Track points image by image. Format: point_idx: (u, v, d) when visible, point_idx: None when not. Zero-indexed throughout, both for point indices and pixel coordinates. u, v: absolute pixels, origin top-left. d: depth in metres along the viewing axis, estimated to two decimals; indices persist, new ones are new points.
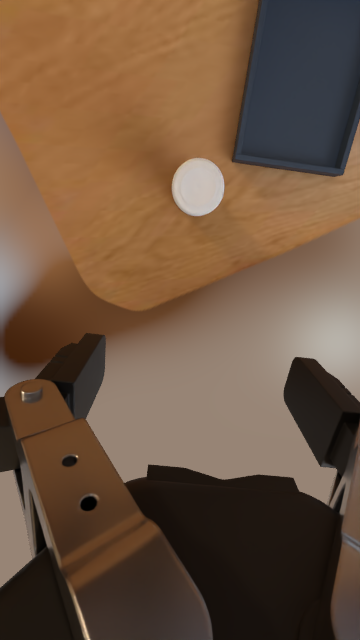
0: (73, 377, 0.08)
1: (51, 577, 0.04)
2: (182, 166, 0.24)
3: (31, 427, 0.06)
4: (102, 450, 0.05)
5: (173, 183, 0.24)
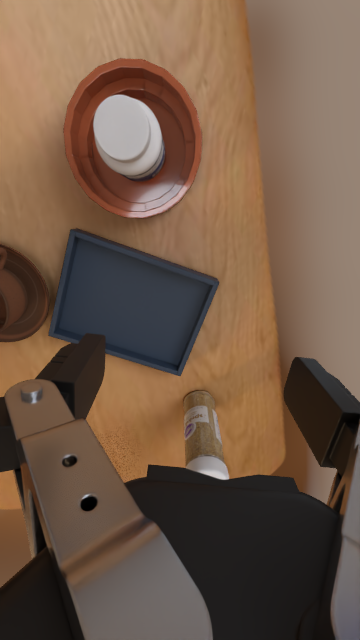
0: (73, 377, 0.08)
1: (51, 577, 0.04)
2: None
3: (31, 427, 0.06)
4: (102, 450, 0.05)
5: None
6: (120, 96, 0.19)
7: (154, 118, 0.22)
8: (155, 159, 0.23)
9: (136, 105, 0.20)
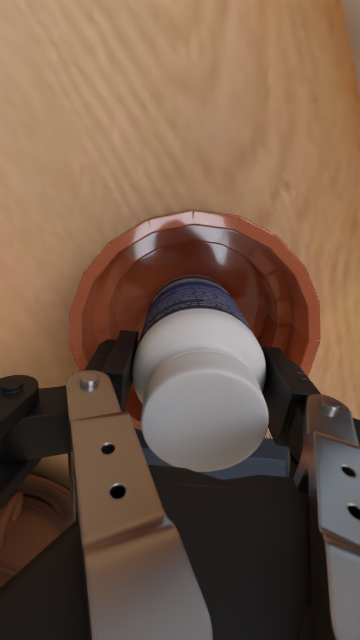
0: (120, 369, 0.09)
1: (77, 552, 0.04)
2: None
3: (83, 413, 0.07)
4: (138, 445, 0.05)
5: None
6: (196, 376, 0.08)
7: (251, 341, 0.10)
8: None
9: (236, 383, 0.08)
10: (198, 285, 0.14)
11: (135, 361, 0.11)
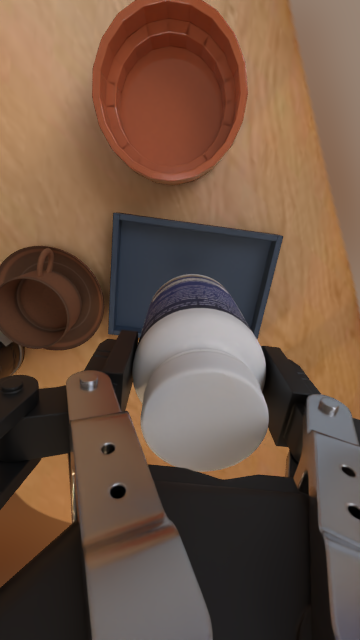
0: (120, 369, 0.09)
1: (77, 552, 0.04)
2: None
3: (83, 413, 0.07)
4: (138, 445, 0.05)
5: None
6: (196, 375, 0.08)
7: (251, 341, 0.10)
8: None
9: (236, 383, 0.08)
10: (198, 284, 0.14)
11: (135, 361, 0.11)
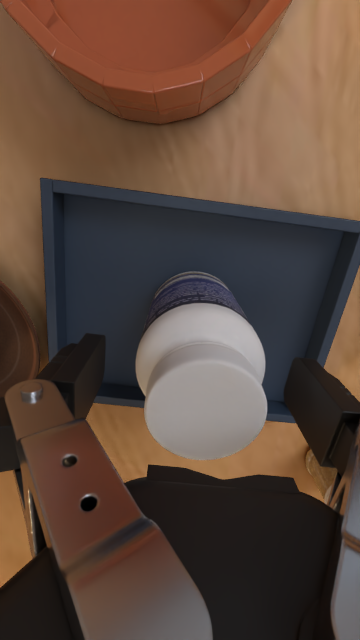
0: (73, 377, 0.08)
1: (51, 577, 0.04)
2: None
3: (31, 427, 0.06)
4: (102, 450, 0.05)
5: None
6: (197, 366, 0.08)
7: (251, 335, 0.11)
8: None
9: (235, 373, 0.08)
10: (199, 281, 0.14)
11: (138, 354, 0.11)
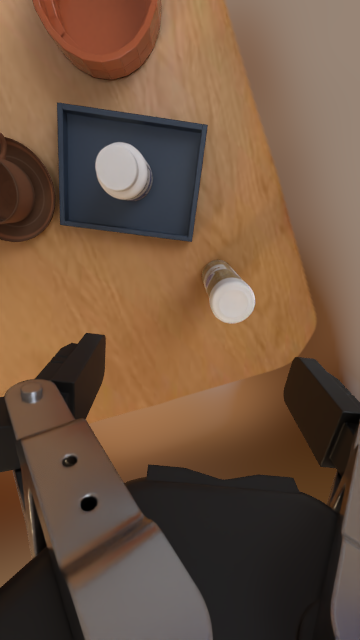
0: (73, 377, 0.08)
1: (51, 577, 0.04)
2: (217, 315, 0.29)
3: (31, 427, 0.06)
4: (102, 450, 0.05)
5: (228, 322, 0.29)
6: (111, 146, 0.26)
7: (138, 152, 0.29)
8: (145, 182, 0.30)
9: (123, 149, 0.26)
10: None
11: None
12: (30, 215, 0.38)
